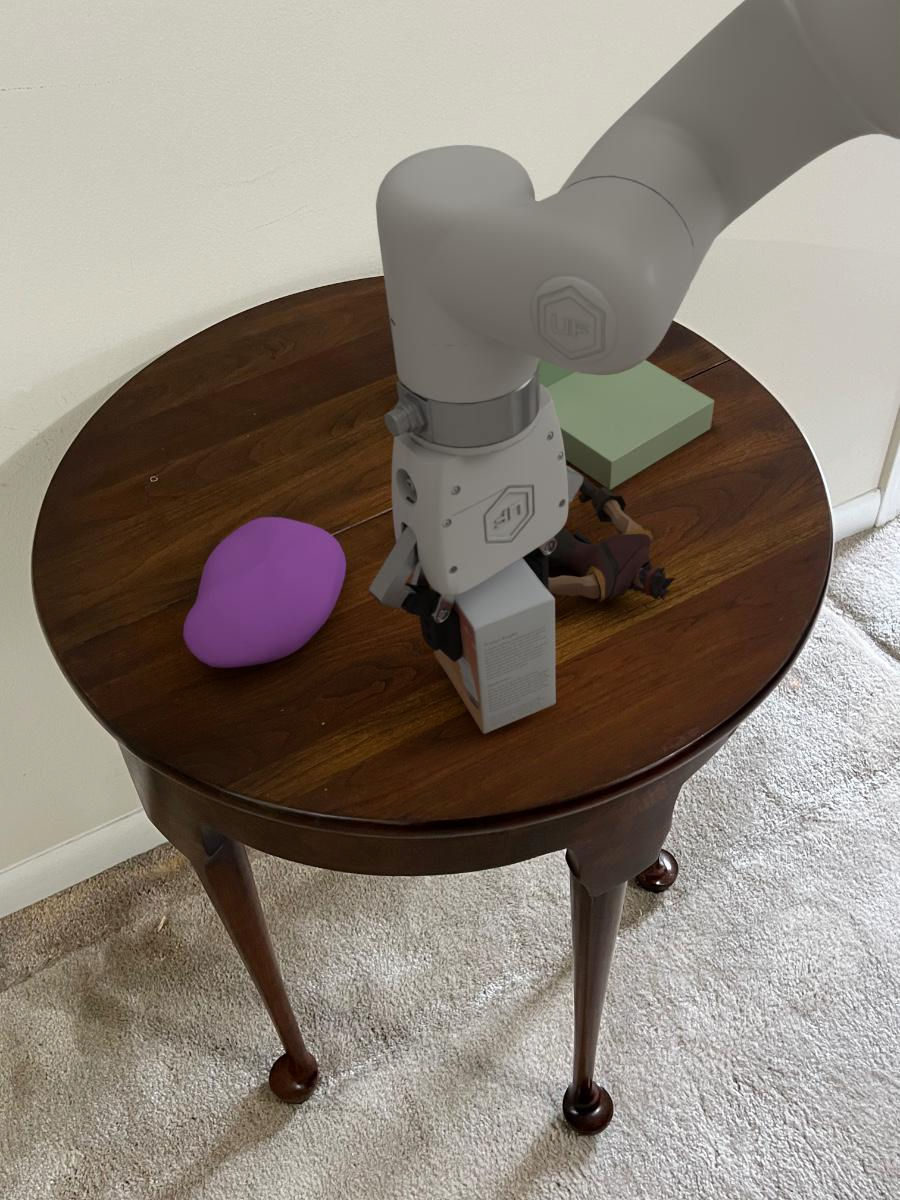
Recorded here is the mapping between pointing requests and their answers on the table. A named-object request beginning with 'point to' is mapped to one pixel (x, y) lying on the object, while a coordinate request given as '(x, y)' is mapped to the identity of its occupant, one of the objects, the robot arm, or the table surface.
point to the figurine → (607, 555)
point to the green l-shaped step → (623, 418)
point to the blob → (264, 593)
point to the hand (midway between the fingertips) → (487, 617)
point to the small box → (505, 647)
